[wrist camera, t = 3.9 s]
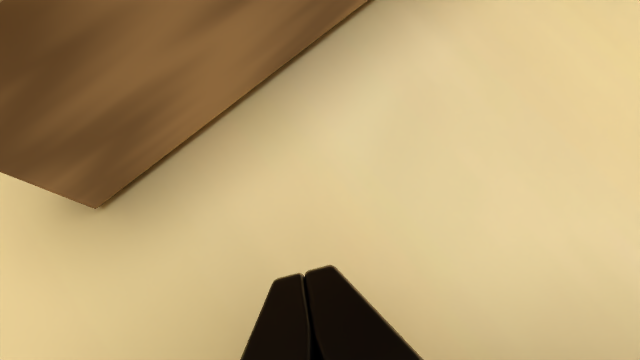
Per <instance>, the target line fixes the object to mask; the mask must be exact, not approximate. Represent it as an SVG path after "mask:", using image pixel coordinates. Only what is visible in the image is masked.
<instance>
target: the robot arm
mask: <svg viewBox="0 0 640 360" xmlns="http://www.w3.org/2000/svg"><path fill="white" fill-rule="evenodd" d="M240 360H423V359H422V358H421V357H420V356H419V354H418V353H417V352H416V351H415V350H414V349H413V348H412V347H411V346H410V345H409V344H408V343H407V342H406V341H405V340H404V339H403V338H402V337H401V336H400V334H399V333H398V332H397V331H396V330H395V329H394V328H393V327H392V326H391V325H390V324H389V323H388V322H387V321H386V320H385V319H384V318H383V317H382V316H381V314H380V313H379V312H378V311H377V310H376V309H375V308H374V307H373V306H372V305H371V304H370V303H369V302H368V301H367V300H366V299H365V298H364V297H363V296H362V294H361V293H360V292H359V291H358V290H357V289H356V288H355V287H354V286H353V285H352V284H351V283H350V282H349V281H348V280H347V279H346V278H345V277H344V276H343V274H342V273H341V272H340V271H339V270H338V269H337V268H336V267H334V266H332V265H328V266H324V267H320V268H316V269H312V270H309V271H307V272H306V273H305V277H304V275H303V274H301V273H297V274H293V275H289V276H285V277H281V278H278V279H276V280H275V281H274V282H273V283H272V286H271V288H270V290H269V293H268V295H267V298H266V300H265V302H264V305H263V307H262V309H261V312H260V314H259V317H258V319H257V321H256V324H255V326H254V328H253V331H252V333H251V336H250V338H249V340H248V343H247V345H246V347H245V350H244V352H243V355H242V357H241V359H240Z"/></svg>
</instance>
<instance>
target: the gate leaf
mask: <svg viewBox="0 0 640 360" xmlns="http://www.w3.org/2000/svg"><path fill="white" fill-rule="evenodd" d="M366 1H368V0H0V172H2V173H4V174H7V175H9V176H12V177H15V178H17V179H20V180H22V181H25V182H27V183H30V184H33V185H35V186H38V187H40V188H43V189H45V190H48V191H51V192H53V193H56V194H58V195H61V196H63V197H66V198H68V199H71V200H74V201H76V202H79V203H81V204H84V205H86V206H89V207H92V208H94V209H96V208H98V207H99V206H100V205H102V204H103V203H104V202H106V201H107V200H108V199H109V198H111V197H112V196H113V195H115V194H116V193H117V192H119V191H120V190H121V189H122V188H124V187H125V186H126V185H128V184H129V183H130V182H132V181H133V180H134V179H136V178H137V177H138V176H139V175H141V174H142V173H143V172H145V171H146V170H147V169H149V168H150V167H151V166H152V165H154V164H155V163H156V162H158V161H159V160H160V159H162V158H163V157H164V156H166V155H167V154H168V153H169V152H171V151H172V150H173V149H175V148H176V147H177V146H179V145H180V144H181V143H183V142H184V141H185V140H186V139H188V138H189V137H190V136H192V135H193V134H194V133H196V132H197V131H198V130H199V129H201V128H202V127H203V126H205V125H206V124H207V123H209V122H210V121H211V120H213V119H214V118H215V117H216V116H218V115H219V114H220V113H222V112H223V111H224V110H226V109H227V108H228V107H229V106H231V105H232V104H233V103H235V102H236V101H237V100H239V99H240V98H241V97H243V96H244V95H245V94H246V93H248V92H249V91H250V90H252V89H253V88H254V87H256V86H257V85H258V84H259V83H261V82H262V81H263V80H265V79H266V78H267V77H269V76H270V75H271V74H273V73H274V72H275V71H276V70H278V69H279V68H280V67H282V66H283V65H284V64H286V63H287V62H288V61H289V60H291V59H292V58H293V57H295V56H296V55H297V54H299V53H300V52H301V51H303V50H304V49H305V48H306V47H308V46H309V45H310V44H312V43H313V42H314V41H316V40H317V39H318V38H319V37H321V36H322V35H323V34H325V33H326V32H327V31H329V30H330V29H331V28H333V27H334V26H335V25H336V24H338V23H339V22H340V21H342V20H343V19H344V18H346V17H347V16H348V15H349V14H351V13H352V12H353V11H355V10H356V9H357V8H359V7H360V6H361V5H363V4H364V3H365V2H366Z"/></svg>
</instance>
